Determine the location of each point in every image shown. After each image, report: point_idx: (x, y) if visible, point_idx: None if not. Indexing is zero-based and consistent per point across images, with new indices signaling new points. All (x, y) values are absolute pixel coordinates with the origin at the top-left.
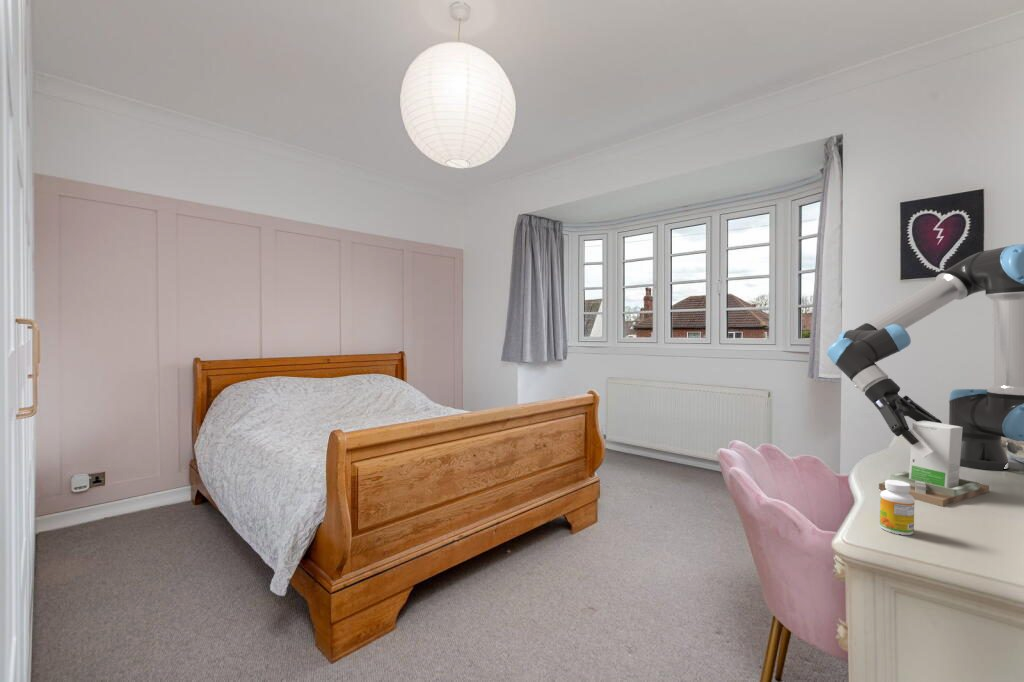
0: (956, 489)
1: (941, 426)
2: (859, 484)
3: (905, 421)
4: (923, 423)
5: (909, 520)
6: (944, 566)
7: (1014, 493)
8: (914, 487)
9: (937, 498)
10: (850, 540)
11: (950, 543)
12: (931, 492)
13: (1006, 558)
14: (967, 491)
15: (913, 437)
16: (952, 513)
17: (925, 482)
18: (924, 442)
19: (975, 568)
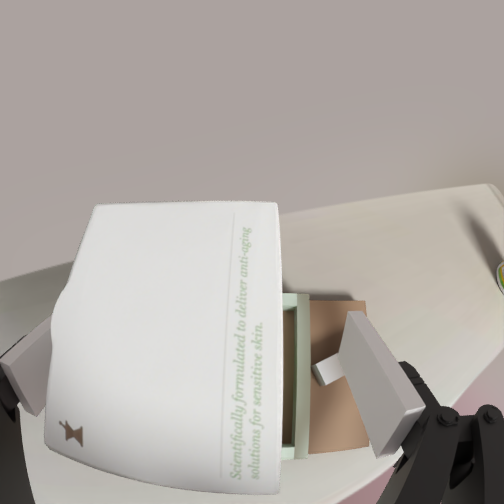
0: (294, 294)
1: (261, 261)
2: (358, 486)
3: (417, 478)
4: (260, 411)
5: None
6: None
7: None
8: (315, 389)
9: (364, 311)
10: None
11: (482, 232)
12: (323, 344)
13: (459, 192)
14: None
15: (413, 380)
16: (383, 277)
17: (299, 369)
18: (378, 340)
19: (495, 205)
